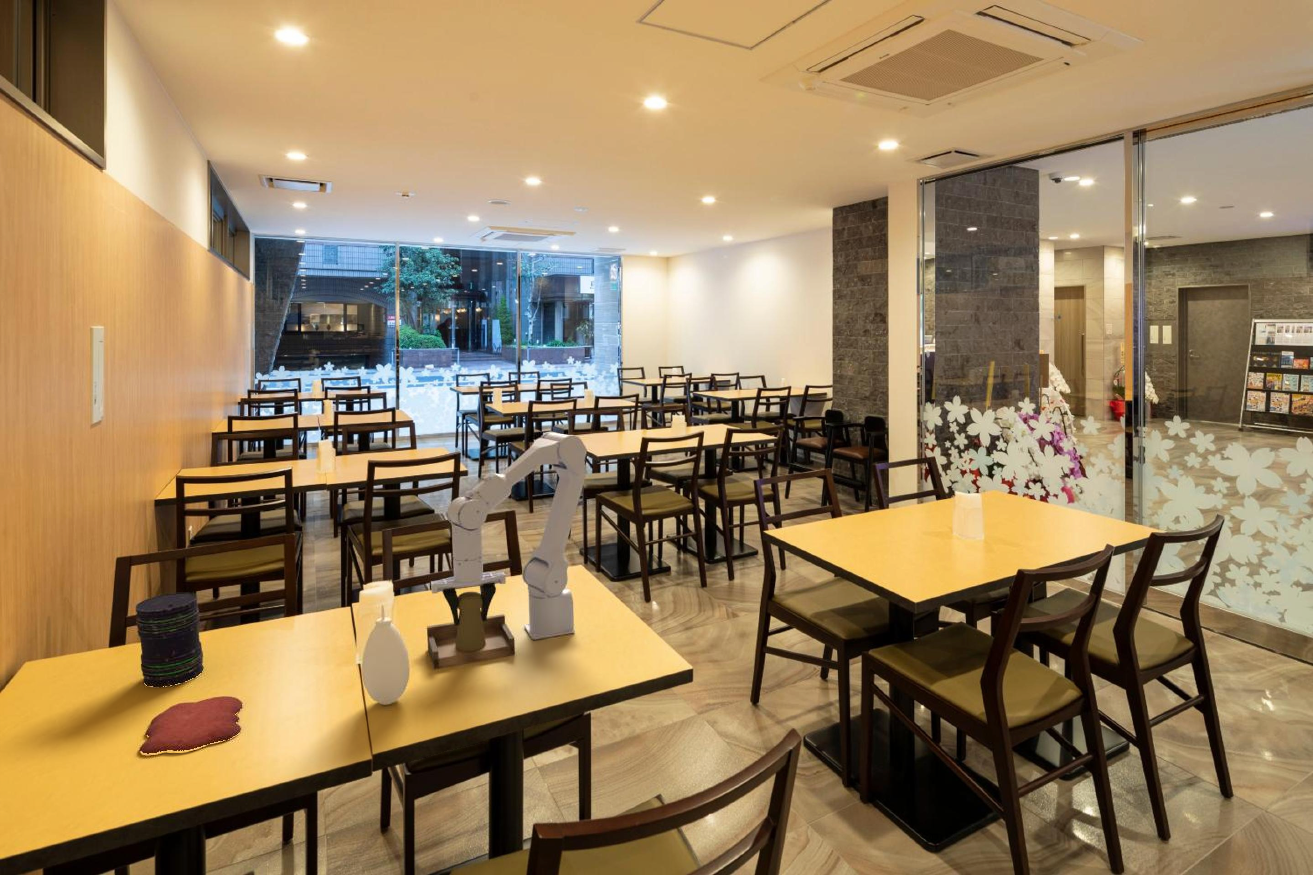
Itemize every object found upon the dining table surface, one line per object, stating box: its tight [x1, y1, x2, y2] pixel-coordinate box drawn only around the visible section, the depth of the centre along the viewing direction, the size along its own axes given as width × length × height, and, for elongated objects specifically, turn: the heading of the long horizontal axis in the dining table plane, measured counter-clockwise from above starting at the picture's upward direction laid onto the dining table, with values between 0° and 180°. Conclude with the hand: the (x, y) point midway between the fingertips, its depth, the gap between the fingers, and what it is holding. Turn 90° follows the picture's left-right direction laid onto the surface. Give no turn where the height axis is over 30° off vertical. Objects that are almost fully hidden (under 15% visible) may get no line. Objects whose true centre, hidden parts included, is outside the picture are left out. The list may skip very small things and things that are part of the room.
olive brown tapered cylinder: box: [455, 591, 486, 652], centre depth 144 cm, size 6×6×11 cm
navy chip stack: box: [135, 592, 205, 688], centre depth 135 cm, size 10×10×15 cm
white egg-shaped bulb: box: [361, 604, 411, 706], centre depth 125 cm, size 8×8×18 cm
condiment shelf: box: [426, 613, 516, 670], centre depth 146 cm, size 16×10×5 cm, turn 114°
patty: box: [139, 695, 243, 754], centre depth 118 cm, size 18×14×2 cm
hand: (470, 621), depth 144 cm, fingers closed on olive brown tapered cylinder, 5 cm apart
